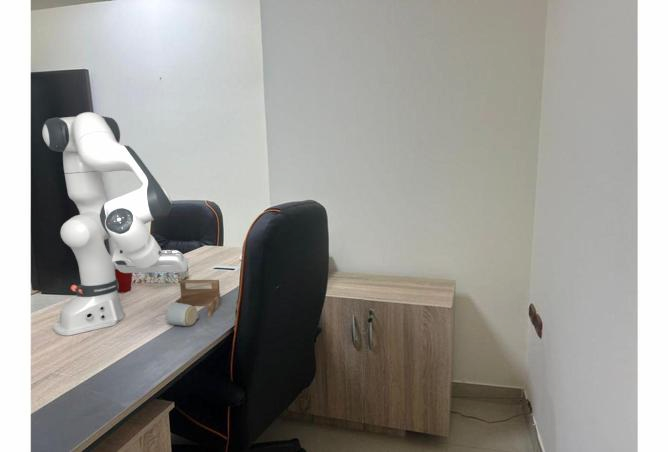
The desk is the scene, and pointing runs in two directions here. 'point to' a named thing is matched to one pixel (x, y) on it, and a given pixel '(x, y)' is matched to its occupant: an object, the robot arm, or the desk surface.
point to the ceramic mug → (181, 314)
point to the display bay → (200, 294)
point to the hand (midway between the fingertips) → (161, 275)
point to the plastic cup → (123, 280)
